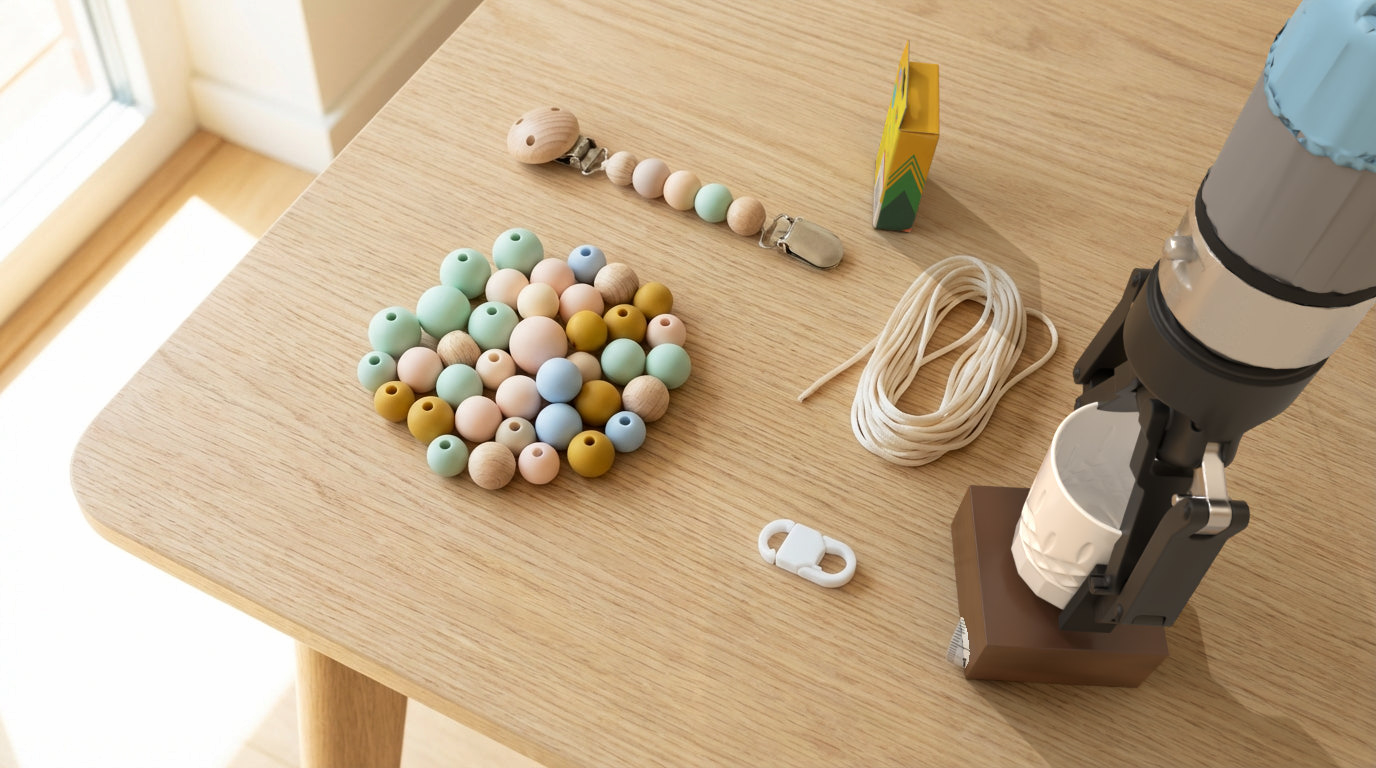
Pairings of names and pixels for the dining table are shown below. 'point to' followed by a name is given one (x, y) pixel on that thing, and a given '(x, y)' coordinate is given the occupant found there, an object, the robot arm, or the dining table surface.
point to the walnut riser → (1031, 610)
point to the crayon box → (906, 145)
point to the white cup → (1076, 502)
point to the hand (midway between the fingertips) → (1073, 555)
